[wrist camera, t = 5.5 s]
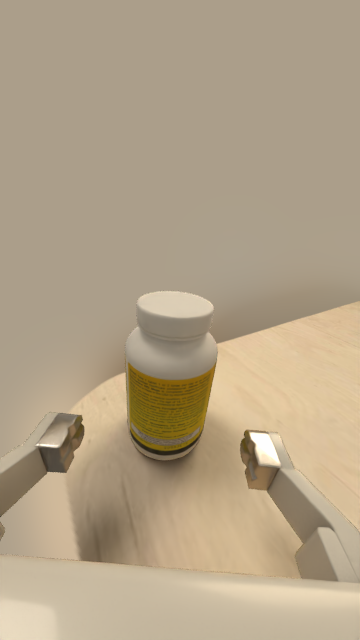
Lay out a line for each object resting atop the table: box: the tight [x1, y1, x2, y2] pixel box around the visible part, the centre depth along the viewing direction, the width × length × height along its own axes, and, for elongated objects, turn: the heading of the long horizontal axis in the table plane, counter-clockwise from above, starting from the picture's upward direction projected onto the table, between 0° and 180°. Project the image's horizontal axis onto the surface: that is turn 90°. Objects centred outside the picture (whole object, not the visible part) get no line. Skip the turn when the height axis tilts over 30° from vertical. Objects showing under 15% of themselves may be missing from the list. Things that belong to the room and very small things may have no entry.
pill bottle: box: [125, 291, 218, 460], centre depth 14 cm, size 6×6×11 cm
